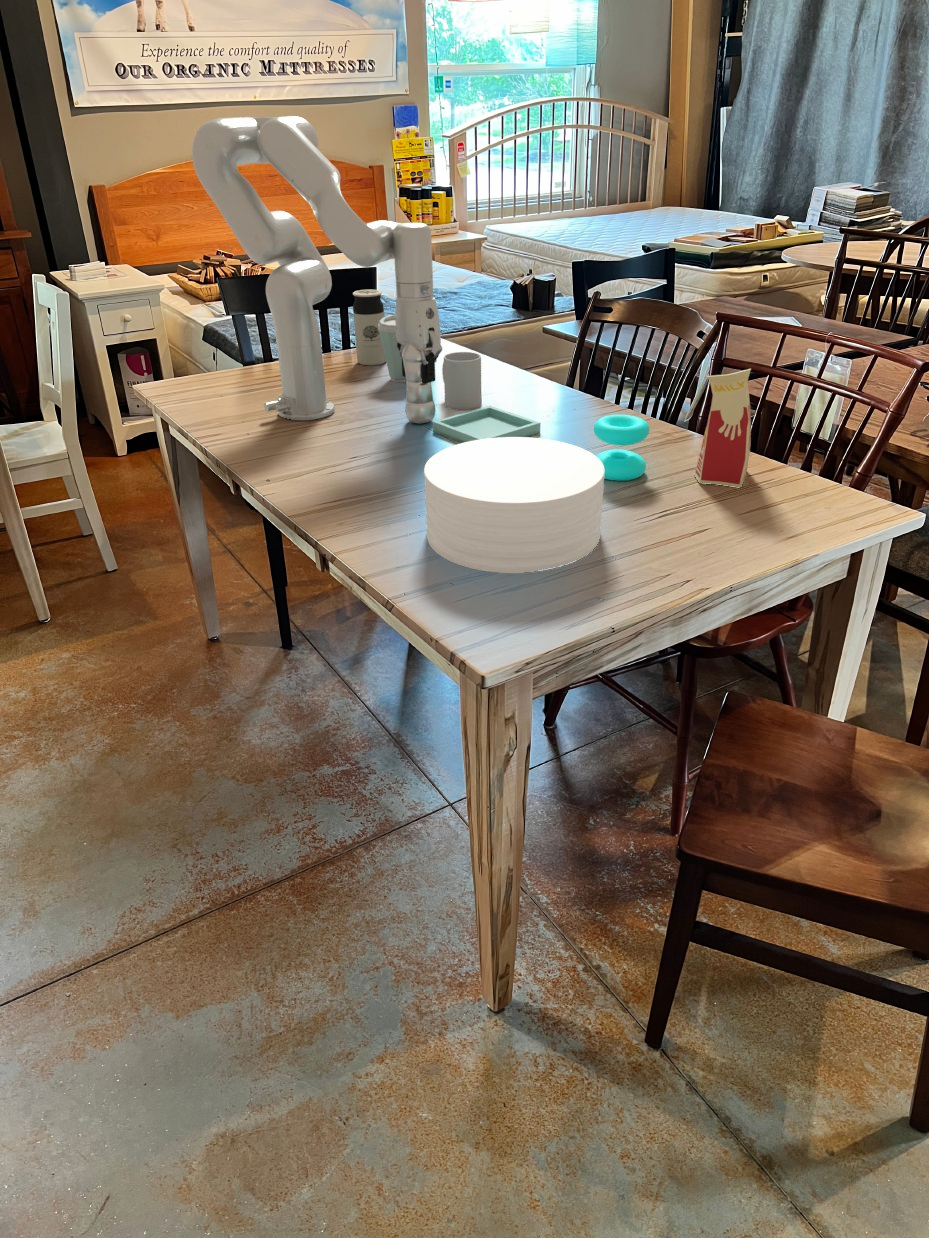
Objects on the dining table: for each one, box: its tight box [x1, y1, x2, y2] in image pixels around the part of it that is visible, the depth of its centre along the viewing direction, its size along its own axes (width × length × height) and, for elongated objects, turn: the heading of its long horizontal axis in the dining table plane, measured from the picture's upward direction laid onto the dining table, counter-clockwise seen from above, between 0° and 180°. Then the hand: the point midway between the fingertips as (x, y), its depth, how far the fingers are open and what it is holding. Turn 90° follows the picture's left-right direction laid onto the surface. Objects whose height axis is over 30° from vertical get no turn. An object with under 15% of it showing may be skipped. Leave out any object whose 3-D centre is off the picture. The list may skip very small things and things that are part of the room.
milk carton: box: [694, 368, 752, 488], centre depth 154 cm, size 9×9×20 cm
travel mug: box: [352, 289, 387, 366], centre depth 229 cm, size 8×8×18 cm
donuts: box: [593, 414, 650, 482], centre depth 159 cm, size 10×10×10 cm
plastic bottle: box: [402, 344, 436, 424], centre depth 184 cm, size 6×7×20 cm
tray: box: [432, 405, 541, 444], centre depth 182 cm, size 16×16×2 cm
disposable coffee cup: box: [377, 314, 407, 383], centre depth 215 cm, size 11×11×15 cm
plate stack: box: [423, 436, 605, 574], centre depth 138 cm, size 28×28×12 cm
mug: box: [441, 351, 483, 411], centre depth 198 cm, size 12×8×11 cm
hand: (418, 378), depth 185 cm, fingers closed on plastic bottle, 6 cm apart
